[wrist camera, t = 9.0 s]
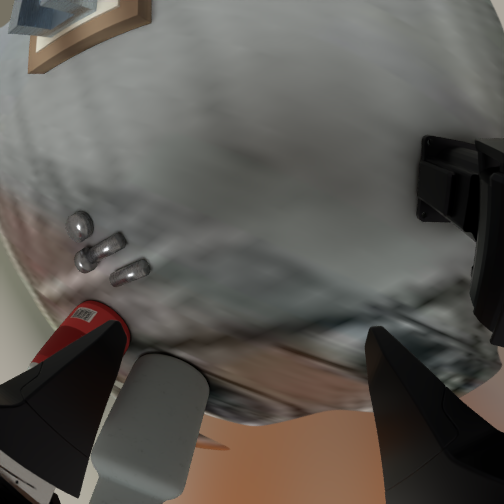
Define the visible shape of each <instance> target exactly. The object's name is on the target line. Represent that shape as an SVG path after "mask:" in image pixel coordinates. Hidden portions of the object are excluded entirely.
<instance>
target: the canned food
mask: <svg viewBox="0 0 504 504" xmlns="http://www.w3.org/2000/svg"><path fill="white" fill-rule="evenodd" d="M108 320H118V321H120V322H121V324H122V326H123V329H124V331H125V333H126V335H127V344H126V347H125V350H124V354H125V352H126V351H127V349H128V346H129V342H130V333H129V330H128V327H127V325H126V324H125V322H124V321H123V320H122V318H121V317H120V316H119V315H118V314H117V313H116V312H115V311H114V310H112V309H111V308H109V307H108V306H106V305H104V304H102V303H100V302H96V301H85V302H83V303H81V304H80V305H78V306H77V307H76V308H75V309H74V310H73V311H72V313H71V314H70V315H69V316H68V317H67V318H66V319H65V321H64V322H63V323H62V324H61V325H60V326H59V328H58V329H57V330H56V331H55V332H54V334H53V335H52V336H51V337H50V339H49V340H48V341H47V342H46V344H45V345H44V346H43V347H42V348H41V350H40V351H39V352H38V354H37V355H36V356H35V358H34V359H33V361H32V362H31V363H30V366H29V367H28V370H29V369H31V368H32V367H34V366H36V365H37V364H39V363H40V362H42V361H44V360H45V359H47V358H48V357H50V356H52V355H53V354H55V353H56V352H58V351H60V350H61V349H63V348H64V347H66V346H68V345H69V344H71V343H73V342H74V341H76V340H77V339H79V338H81V337H82V336H84V335H86V334H87V333H89V332H90V331H92V330H94V329H95V328H97V327H99V326H100V325H102V324H103V323H105V322H107V321H108ZM124 354H123V356H124ZM122 358H123V357H122Z"/></svg>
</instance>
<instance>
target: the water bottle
mask: <svg viewBox="0 0 504 504" xmlns="http://www.w3.org/2000/svg"><path fill="white" fill-rule="evenodd" d="M208 396H209V386H208V383H207V381H206V379H205V378H204V376H203V375H202V374H201V373H200V372H199V371H198V370H196V369H195V368H194V367H192V366H191V365H189V364H188V363H186V362H184V361H182V360H180V359H177V358H174V357H171V356H167V355H162V354H147V355H144V356H142V357H140V358H139V359H138V360H137V361H136V362H135V363H134V365H133V367H132V369H131V371H130V373H129V375H128V377H127V379H126V381H125V383H124V385H123V387H122V389H121V391H120V393H119V395H118V397H117V399H116V401H115V403H114V405H113V407H112V409H111V411H110V413H109V415H108V417H107V419H106V421H105V423H104V426H103V428H102V430H101V432H100V434H99V436H98V438H97V441H96V443H95V445H94V447H93V449H92V453H91V461H92V464H93V466H94V468H95V469H96V470H97V472H98V474H99V479H98V482H97V484H96V487H95V489H94V492H93V494H92V497H91V500H90V502H89V504H162V503H163V502H165V501H166V500H171V499H175V498H176V497H178V496H179V495H181V494H182V492H183V490H184V487H185V484H186V480H187V476H188V472H189V468H190V464H191V461H192V457H193V453H194V449H195V445H196V442H197V438H198V434H199V430H200V426H201V422H202V419H203V415H204V411H205V407H206V403H207V400H208Z"/></svg>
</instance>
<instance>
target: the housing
mask: <svg viewBox="0 0 504 504" xmlns="http://www.w3.org/2000/svg"><path fill="white" fill-rule="evenodd" d="M96 10H97V0H15V2H14V6H13V10H12V15H11V19H10V24H9V30H8V34H22V35H33V36H41V37H48V38H52V37H53V36H55V35H56V34H58V33H59V32H61V31H62V30H64V29H66V28H67V27H69V26H71V25H72V24H74V23H76V22H77V21H79V20H81V19H83V18H85V17H86V16H88V15H90V14H92V13H94V12H96Z"/></svg>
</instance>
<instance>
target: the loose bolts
mask: <svg viewBox="0 0 504 504" xmlns="http://www.w3.org/2000/svg"><path fill="white" fill-rule="evenodd" d="M66 230H67V233H68V235H69V236H70V238H71V239H72V240H73V241H75V242H78V243H80V242H83V241H84V240H85V239H87V238H88V237H89V236H90V235H91V234H92V233H93V222H92V220H91V218H90V216H89V215H88V214H87V213H85V212H83V211H78V212H76V213H75V214H73V215H71V216H70V217H68V219H67V220H66ZM125 246H126V241H125V238H124V237H123V235H122V234H120V233H116V234H115V235H113V236H111V237H109V238H108V239H106V240H104V241H103V242H101V243H99V244H98V245H96V246H94V247H92V248H91V249H90V248H83V249H82V250H80V251H79V252H77V253H76V255H75V258H74V262H75V265H76V267H77V269H78V270H79V271H80V272H82V273H88V272H90V271H92V270H94V269H95V268H96V267H97V263H98V261H100V260H102V259H104V258H106V257H108V256H110V255H112V254H114V253H115V252H117V251H119V250H121V249H123V248H125ZM149 273H150V267H149V265H148V263H147V262H146V261H145V260H140V261H138V262H135V263H133V264H131V265H129V266H127V267H124V268H122V269H120V270H118V271H115V272H113V273H111V274H110V283H111V284H112V285H113V286H114V287H119V286H122V285H124V284H127V283H129V282H132V281H134V280H137V279H139V278H142V277H144V276H147V275H149Z"/></svg>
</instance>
